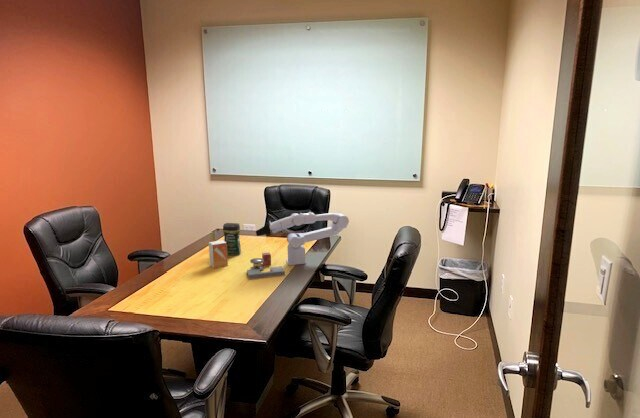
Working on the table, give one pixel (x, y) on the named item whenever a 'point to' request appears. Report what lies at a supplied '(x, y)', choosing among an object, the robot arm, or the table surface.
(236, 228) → the coffee jar
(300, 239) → the robot arm
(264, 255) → the block
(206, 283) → the table surface
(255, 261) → the bobbin
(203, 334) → the table surface
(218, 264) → the small box
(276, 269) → the notched board
